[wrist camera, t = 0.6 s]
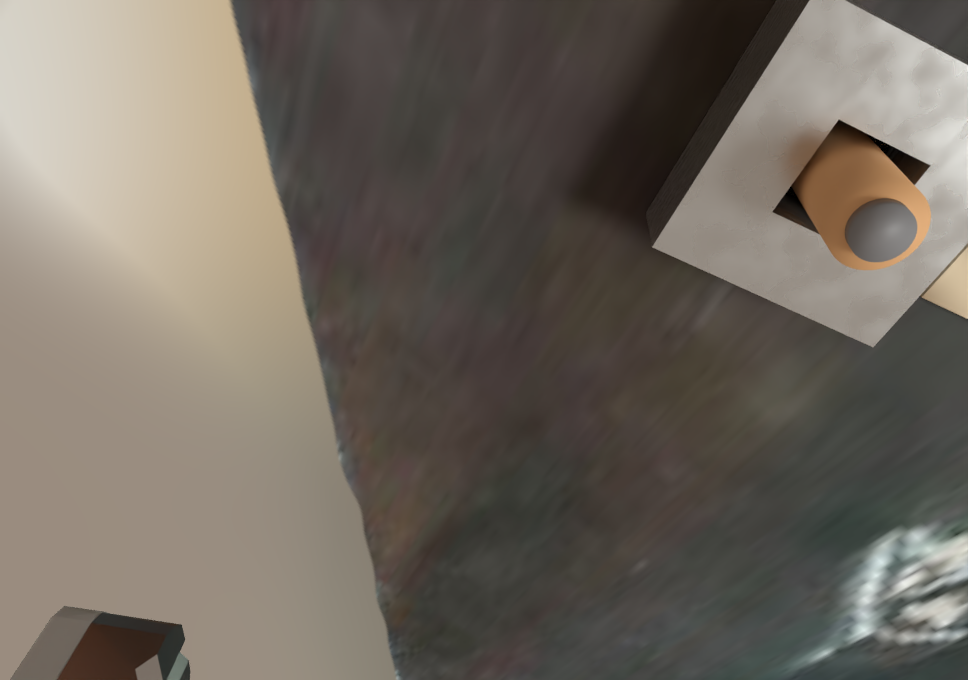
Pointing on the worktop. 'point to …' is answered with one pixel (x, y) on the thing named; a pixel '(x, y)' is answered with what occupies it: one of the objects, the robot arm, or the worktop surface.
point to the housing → (790, 145)
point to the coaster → (951, 286)
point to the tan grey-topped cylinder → (861, 201)
